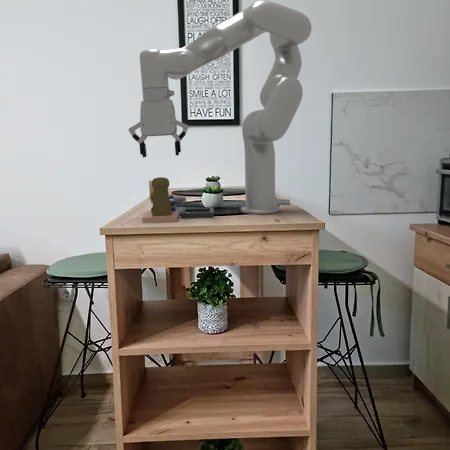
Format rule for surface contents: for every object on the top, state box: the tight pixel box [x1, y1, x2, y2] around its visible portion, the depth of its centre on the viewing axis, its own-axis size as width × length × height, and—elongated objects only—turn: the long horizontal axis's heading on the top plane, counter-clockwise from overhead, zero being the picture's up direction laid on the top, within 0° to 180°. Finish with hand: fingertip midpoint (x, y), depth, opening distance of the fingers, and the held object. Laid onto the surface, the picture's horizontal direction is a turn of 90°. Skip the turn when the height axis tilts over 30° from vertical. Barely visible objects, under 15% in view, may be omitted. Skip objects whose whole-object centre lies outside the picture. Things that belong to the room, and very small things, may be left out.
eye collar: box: [180, 207, 214, 219], centre depth 144 cm, size 10×10×2 cm
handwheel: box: [148, 180, 187, 204], centre depth 152 cm, size 12×12×7 cm
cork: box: [151, 177, 172, 216], centre depth 137 cm, size 6×6×11 cm
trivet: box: [142, 211, 181, 224], centre depth 138 cm, size 10×10×2 cm
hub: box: [171, 203, 186, 212], centre depth 153 cm, size 10×10×3 cm
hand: (161, 156), depth 135 cm, fingers open, 9 cm apart
